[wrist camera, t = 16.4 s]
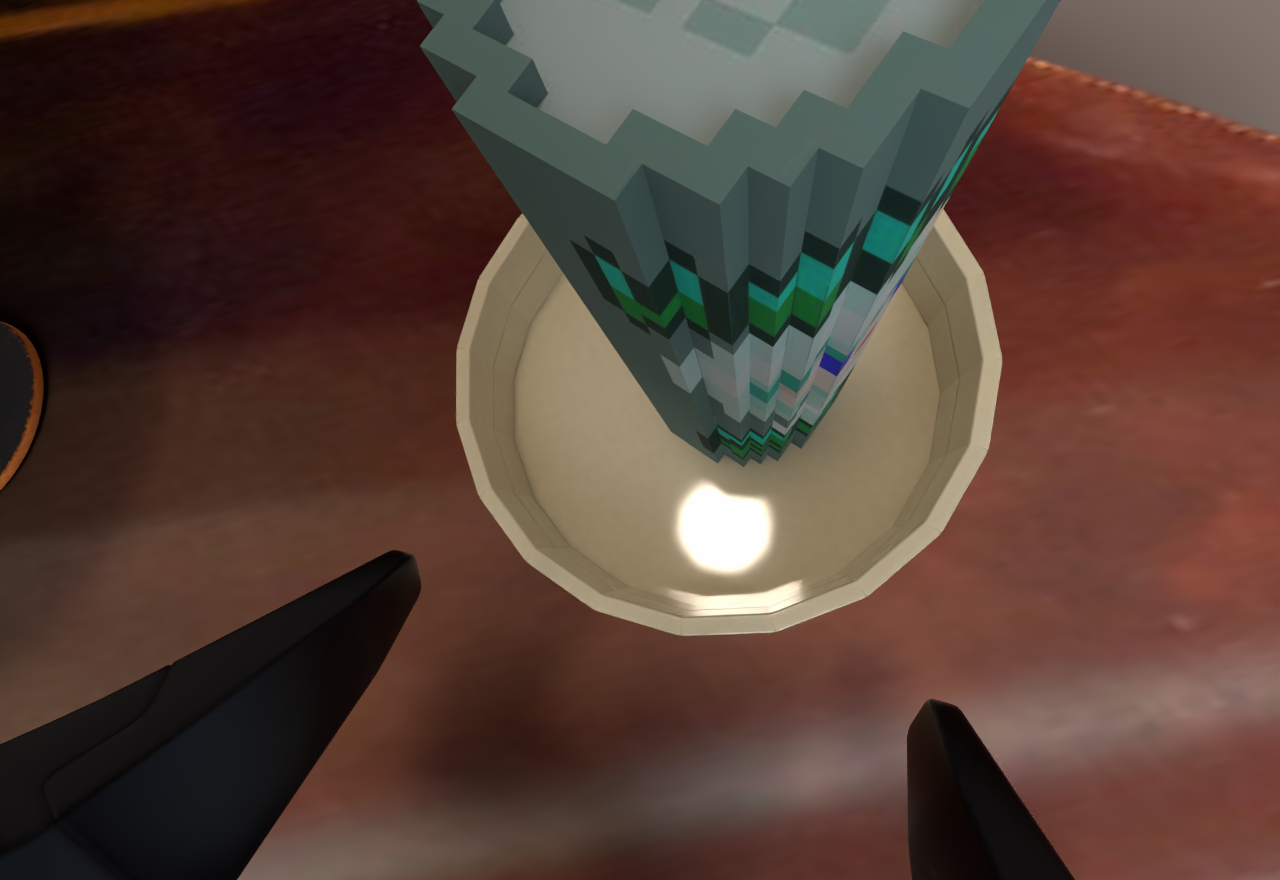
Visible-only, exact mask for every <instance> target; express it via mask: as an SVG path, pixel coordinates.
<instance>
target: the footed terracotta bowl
mask: <svg viewBox="0 0 1280 880" xmlns="http://www.w3.org/2000/svg"><path fill="white" fill-rule="evenodd" d="M43 392H44V382H43V371H42V367H41V363H40V359H39V357H38V354H37V351H36V349H35V348H34V346H33V344H32V343H31V341H30V340H29V339H28V338H27V337H26V335H25V334H23V333H22V332H21V331H20V330H18V329H17V328H15V327H13V326H11V325H9V324H7V323H4V322H1V321H0V490H1V489H2V488H3V487H4V486H5V485H6V484H7V482H8V481H9V480H10V479H11V478H12V476H13V475H14V473H15V472H16V470H17V469H18V467H19V466H20V464H21V462H22V461H23V459H24V457H25V455H26V453H27V452H28V449H29V447H30V445H31V443H32V440H33V438H34V435H35V432H36V430H37V427H38V423H39V419H40V415H41V411H42V403H43Z"/></svg>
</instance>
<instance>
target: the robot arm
mask: <svg viewBox="0 0 1280 880" xmlns="http://www.w3.org/2000/svg"><path fill="white" fill-rule="evenodd" d="M420 590H421V581H420V576H419V571H418V566H417V561H416V558H415V557H414V556H413V555H412V554H409V553H405V552H402V551H398V550H392V551H389V552H387V553H385V554H383V555H381V556H379V557H377V558H375V559H373V560H371V561H369V562H367V563H366V564H364V565H362V566H360V567H358V568H356V569H354V570H352V571H350V572H348V573H346V574H344V575H342V576H340V577H338V578H336V579H334V580H333V581H331V582H329V583H327V584H325V585H323V586H321V587H319V588H317V589H315V590H313V591H311V592H309V593H307V594H305V595H303V596H301V597H300V598H298V599H296V600H294V601H292V602H290V603H288V604H286V605H284V606H282V607H280V608H278V609H276V610H274V611H272V612H270V613H268V614H266V615H265V616H263V617H261V618H259V619H257V620H255V621H253V622H251V623H249V624H247V625H245V626H243V627H241V628H239V629H237V630H235V631H233V632H232V633H230V634H228V635H226V636H224V637H222V638H220V639H218V640H216V641H214V642H212V643H210V644H208V645H206V646H204V647H202V648H200V649H199V650H197V651H195V652H193V653H191V654H189V655H187V656H185V657H183V658H181V659H179V660H177V661H175V662H174V663H173V664H172V666H171V665H167V666H165V667H163V668H161V669H159V670H157V671H155V672H154V673H152V674H150V675H148V676H146V677H144V678H142V679H140V680H138V681H136V682H134V683H132V684H130V685H128V686H126V687H124V688H122V689H120V690H118V691H116V692H114V693H112V694H110V695H108V696H106V697H104V698H102V699H100V700H97V701H95V702H93V703H91V704H89V705H87V706H84V707H82V708H80V709H78V710H76V711H74V712H71V713H69V714H67V715H65V716H63V717H61V718H58V719H56V720H54V721H52V722H50V723H47V724H45V725H43V726H41V727H38V728H36V729H34V730H32V731H30V732H27V733H25V734H23V735H21V736H18V737H16V738H14V739H12V740H9V741H7V742H5V743H3V744H0V880H237V879H238V877H239V876H240V875H241V873H242V872H243V870H244V869H245V867H246V866H247V864H248V863H249V861H250V860H251V858H252V857H253V855H254V854H255V852H256V851H257V849H258V848H259V847H260V845H261V844H262V842H263V841H264V839H265V838H266V836H267V835H268V833H269V832H270V830H271V829H272V827H273V826H274V824H275V823H276V821H277V820H278V818H279V817H280V816H281V814H282V813H283V811H284V810H285V808H286V807H287V805H288V804H289V802H290V801H291V799H292V798H293V796H294V795H295V793H296V792H297V790H298V789H299V787H300V786H301V785H302V783H303V782H304V780H305V779H306V777H307V776H308V774H309V773H310V771H311V770H312V768H313V767H314V765H315V764H316V762H317V761H318V759H319V758H320V757H321V755H322V754H323V752H324V751H325V749H326V748H327V746H328V745H329V743H330V742H331V740H332V739H333V737H334V736H335V734H336V733H337V731H338V730H339V728H340V727H341V726H342V724H343V723H344V721H345V720H346V718H347V717H348V715H349V714H350V712H351V711H352V709H353V708H354V706H355V705H356V703H357V702H358V700H359V699H360V697H361V696H362V695H363V693H364V692H365V690H366V689H367V687H368V686H369V684H370V683H371V681H372V680H373V678H374V676H375V675H376V673H377V672H378V670H379V668H380V667H381V665H382V663H383V661H384V660H385V658H386V656H387V654H388V652H389V650H390V649H391V647H392V645H393V643H394V641H395V639H396V638H397V636H398V634H399V632H400V630H401V628H402V626H403V625H404V623H405V621H406V619H407V617H408V615H409V614H410V612H411V610H412V608H413V606H414V604H415V602H416V601H417V599H418V597H419V594H420ZM907 786H908V844H909V855H910V865H911V874H912V880H1075V879H1074V878H1073V876H1072V875H1071V873H1070V872H1069V870H1068V869H1067V867H1066V866H1065V864H1064V863H1063V861H1062V860H1061V858H1060V857H1059V855H1058V854H1057V852H1056V851H1055V849H1054V848H1053V846H1052V845H1051V843H1050V842H1049V840H1048V839H1047V837H1046V836H1045V834H1044V833H1043V832H1042V830H1041V829H1040V827H1039V826H1038V824H1037V823H1036V821H1035V820H1034V818H1033V817H1032V815H1031V814H1030V812H1029V811H1028V809H1027V808H1026V806H1025V805H1024V803H1023V802H1022V800H1021V799H1020V797H1019V796H1018V794H1017V793H1016V791H1015V790H1014V788H1013V787H1012V785H1011V784H1010V782H1009V781H1008V779H1007V778H1006V777H1005V775H1004V774H1003V772H1002V771H1001V769H1000V768H999V766H998V765H997V763H996V762H995V760H994V759H993V757H992V756H991V754H990V753H989V751H988V750H987V748H986V747H985V745H984V744H983V742H982V741H981V739H980V738H979V736H978V735H977V733H976V732H975V730H974V729H973V727H972V726H971V724H970V723H969V722H968V720H967V719H966V717H965V716H964V714H963V713H962V711H961V710H960V709H959V708H958V707H956V706H954V705H952V704H949V703H945V702H942V701H938V700H934V699H930V700H928V701H926V702H925V704H924V705H923V707H922V708H921V710H920V711H919V713H918V714H917V716H916V717H915V719H914V720H913V722H912V724H911V725H910V727H909V730H908V736H907Z"/></svg>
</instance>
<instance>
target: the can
mask: <svg viewBox="0 0 1280 880" xmlns="http://www.w3.org/2000/svg"><path fill="white" fill-rule="evenodd" d="M1059 1H1060V0H417V2H418V4H419V6H420V7H421V9H422V10H423V12H424V14H425V15H426V17H427V19H428V20H429V22H430V24H431V25H432V27H433V30H432V31H431V32H430V34H429V35H428V36H427V37H426V39H425V40H424V41H423V43H422V44H421V45H420V47H421V49H422V50H423V52H424V53H425V55H426V56H427V58H428V59H429V61H430V62H431V64H432V65H433V67H434V68H435V70H436V71H437V73H438V74H439V76H440V77H441V79H442V80H443V82H444V83H445V85H446V87H447V88H448V90H449V91H450V93H451V94H452V96H453V97H454V99H455V100H456V102H457V103H456V104H455V105H454V107H453V108H452V110H453V112H454V113H455V115H456V116H457V118H458V119H459V121H460V122H461V124H462V125H463V127H464V128H465V129H466V131H467V132H468V134H469V135H470V137H471V138H472V140H473V141H474V143H475V144H476V146H477V147H478V149H479V150H480V152H481V153H482V154H483V156H484V157H485V159H486V160H487V162H488V163H489V165H490V166H491V168H492V169H493V171H494V172H495V174H496V175H497V177H498V178H499V179H500V181H501V182H502V184H503V185H504V187H505V188H506V190H507V191H508V193H509V194H510V196H511V197H512V199H513V200H514V202H515V203H516V204H517V206H518V207H519V209H520V210H521V212H522V213H523V215H524V216H525V218H526V219H527V221H528V222H529V224H530V225H531V227H532V228H533V229H534V231H535V232H536V234H537V235H538V237H539V238H540V240H541V241H542V243H543V244H544V246H545V247H546V249H547V250H548V251H549V253H550V254H551V256H552V257H553V259H554V260H555V262H556V263H557V265H558V266H559V268H560V269H561V271H562V272H563V274H564V275H565V276H566V278H567V279H568V281H569V282H570V284H571V285H572V287H573V288H574V290H575V291H576V293H577V294H578V296H579V297H580V299H581V300H582V301H583V303H584V304H585V306H586V307H587V309H588V310H589V312H590V313H591V315H592V316H593V318H594V319H595V321H596V322H597V324H598V325H599V326H600V328H601V329H602V331H603V332H604V334H605V335H606V337H607V338H608V340H609V341H610V343H611V344H612V346H613V347H614V349H615V350H616V351H617V353H618V354H619V356H620V357H621V359H622V360H623V362H624V363H625V365H626V366H627V368H628V369H629V371H630V372H631V374H632V375H633V376H634V378H635V379H636V381H637V382H638V384H639V385H640V387H641V388H642V390H643V391H644V393H645V394H646V396H647V397H648V398H649V400H650V401H651V403H652V404H653V406H654V407H655V409H656V410H657V412H658V413H659V415H660V416H661V418H662V419H663V421H664V422H665V423H666V425H667V426H668V428H669V429H670V431H671V432H672V433H674V434H675V435H677V436H678V437H680V438H681V439H683V440H684V441H685V442H687V443H688V444H690V445H691V446H693V447H694V448H696V449H697V450H699V451H700V452H701V453H703V454H704V455H706V456H707V457H709V458H710V459H712V460H713V461H715V462H716V463H718V462H719V461H720V460H721V458H722V457H723V455H724V454H725V455H726V456H728V457H729V458H731V459H732V460H734V461H735V462H737V463H738V464H740V465H741V466H743V467H744V466H745V465H746V464H747V462H748V461H749V459H750V458H752V459H753V460H755V461H756V462H758V463H759V464H761V463H762V462H763V460H764V459H765V457H766V456H767V455H768V456H770V457H771V458H773V459H774V460H776V461H778V460H779V458H780V457H781V456H782V454H783V453H784V451H785V450H786V449H787V447H788V446H789V444H790V443H793V444H794V445H796V446H797V447H799V448H802V447H803V446H804V444H805V443H806V441H807V440H808V439H809V437H810V436H811V434H812V433H813V431H814V430H815V429H816V427H817V426H818V424H819V423H820V422H821V420H822V419H823V417H824V416H825V414H826V413H827V412H828V410H829V409H830V407H831V406H832V405H833V403H834V402H835V400H836V398H837V397H838V395H839V393H840V391H841V389H842V388H843V386H844V384H845V382H846V381H847V379H848V377H849V375H850V373H851V372H852V370H853V368H854V366H855V365H856V363H857V361H858V359H859V357H860V356H861V354H862V352H863V350H864V349H865V347H866V345H867V343H868V341H869V340H870V338H871V336H872V334H873V333H874V331H875V329H876V327H877V325H878V324H879V322H880V320H881V318H882V317H883V315H884V313H885V311H886V309H887V308H888V306H889V304H890V302H891V300H892V299H893V297H894V295H895V293H896V292H897V290H898V288H899V286H900V284H901V283H902V281H903V279H904V277H905V276H906V274H907V272H908V270H909V268H910V267H911V265H912V263H913V261H914V260H915V258H916V256H917V254H918V252H919V251H920V249H921V247H922V245H923V244H924V242H925V240H926V238H927V236H928V235H929V233H930V231H931V229H932V228H933V226H934V224H935V222H936V220H937V219H938V217H939V215H940V213H941V212H942V210H943V208H944V206H945V204H946V203H947V201H948V199H949V197H950V196H951V194H952V192H953V190H954V188H955V187H956V185H957V183H958V181H959V179H960V178H961V176H962V174H963V172H964V171H965V169H966V167H967V165H968V163H969V162H970V160H971V158H972V156H973V155H974V153H975V151H976V149H977V147H978V146H979V144H980V142H981V140H982V139H983V137H984V135H985V133H986V131H987V130H988V128H989V126H990V124H991V123H992V121H993V119H994V117H995V115H996V114H997V112H998V110H999V108H1000V107H1001V105H1002V103H1003V101H1004V99H1005V98H1006V96H1007V94H1008V92H1009V91H1010V89H1011V87H1012V85H1013V83H1014V82H1015V80H1016V78H1017V76H1018V74H1019V73H1020V71H1021V69H1022V67H1023V66H1024V64H1025V62H1026V60H1027V58H1028V57H1029V55H1030V53H1031V51H1032V50H1033V48H1034V46H1035V44H1036V42H1037V41H1038V39H1039V37H1040V35H1041V33H1042V32H1043V30H1044V28H1045V26H1046V25H1047V23H1048V21H1049V19H1050V17H1051V16H1052V14H1053V12H1054V10H1055V9H1056V7H1057V5H1058V3H1059Z"/></svg>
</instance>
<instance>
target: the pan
mask: <svg viewBox="0 0 1280 880" xmlns="http://www.w3.org/2000/svg"><path fill="white" fill-rule="evenodd" d="M519 217H520V218H518V219H517V220H516V222H515V223H514V225H513V226H512V228H511V229H510V231H509V232H508V234H507V235H506V237H505V238H504V240H503V242H502V243H501V245H500V246H499V248H498V249H497V251H496V252H495V254H494V255H493V257H492V258H491V260H490V261H489V263H488V265H487V266H486V268H485V269H484V271H483V272H482V274H481V275H480V277H479V279H478V281H477V284H476V287H475V291H474V294H473V297H472V300H471V304H470V307H469V310H468V313H467V317H466V320H465V323H464V326H463V329H462V333H461V336H460V339H459V342H458V346H457V351H456V423H457V424H456V425H457V428H458V432H459V435H460V438H461V441H462V444H463V448H464V451H465V454H466V457H467V460H468V464H469V467H470V470H471V473H472V476H473V480H474V483H475V486H476V489H477V492H478V495H479V496H480V499H481V500H482V502H483V503H484V504H485V506H486V507H487V509H488V510H489V511H490V513H491V514H492V516H493V517H494V518H495V520H496V521H497V522H498V524H499V525H500V527H501V528H502V529H503V531H504V532H505V534H506V535H507V536H508V538H509V539H510V541H511V542H512V543H513V545H514V546H515V547H516V549H517V550H518V552H519V553H520V554H521V556H522V557H523V559H524V560H526V562H527V563H528V564H530V565H531V566H533V567H534V568H535V569H537V570H538V571H540V572H541V573H542V574H544V575H545V576H547V577H548V578H549V579H551V580H552V581H554V582H555V583H556V584H558V585H559V586H561V587H562V588H563V589H565V590H566V591H568V592H569V593H570V594H572V595H573V596H575V597H576V598H577V599H579V600H580V601H582V602H583V603H584V604H586V605H587V606H589V607H590V608H592V609H593V610H596V611H598V612H601V613H604V614H608V615H611V616H615V617H618V618H621V619H625V620H628V621H631V622H635V623H638V624H641V625H645V626H648V627H651V628H655V629H658V630H661V631H665V632H668V633H672V634H675V635H678V636H679V635H681V636H700V635H726V634H752V633H773V632H775V631H776V632H778V631H781V630H784V629H786V628H789V627H791V626H794V625H797V624H799V623H802V622H804V621H807V620H810V619H812V618H815V617H817V616H820V615H822V614H825V613H828V612H830V611H833V610H835V609H838V608H841V607H843V606H846V605H848V604H851V603H854V602H856V601H859V600H861V599H864V598H865V597H866V596H869V595H870V594H871V593H872V592H874V591H875V590H876V589H877V588H878V587H880V586H881V585H882V584H883V583H884V582H885V581H887V580H888V579H889V578H890V577H891V576H892V575H894V574H895V573H896V572H897V571H898V570H899V569H901V568H902V567H903V566H904V565H905V564H907V563H908V562H909V561H910V560H911V559H912V558H914V557H915V556H916V555H917V554H918V553H919V552H921V551H922V550H923V549H924V548H925V547H927V546H928V545H929V544H930V543H931V542H932V541H934V540H935V539H936V538H937V537H938V536H939V535H940V533H942V532H943V530H944V528H945V526H946V525H947V523H948V521H949V519H950V518H951V516H952V514H953V512H954V511H955V509H956V507H957V505H958V504H959V502H960V500H961V498H962V497H963V495H964V493H965V491H966V490H967V488H968V486H969V484H970V482H971V481H972V479H973V477H974V475H975V474H976V472H977V470H978V468H979V467H980V465H981V463H982V461H983V460H984V458H985V456H986V454H987V450H988V449H989V445H990V438H991V432H992V426H993V419H994V413H995V407H996V400H997V394H998V387H999V381H1000V375H1001V368H1002V354H1001V350H1000V345H999V340H998V335H997V331H996V326H995V321H994V317H993V312H992V307H991V303H990V298H989V293H988V288H987V284H986V279H985V275H983V274H984V272H983V271H982V269H981V267H980V266H979V264H978V263H977V261H976V260H975V258H974V256H973V255H972V253H971V252H970V250H969V249H968V247H967V245H966V244H965V242H964V241H963V239H962V238H961V236H960V234H959V233H958V231H957V230H956V228H955V227H954V225H953V223H952V222H951V220H950V219H949V217H948V216H947V214H946V212H945V211H944V209H943V210H942V212H941V213H940V215H939V217H938V219H937V220H936V222H935V224H934V226H933V228H932V229H931V231H930V233H929V235H928V236H927V238H926V240H925V242H924V244H923V245H922V247H921V249H920V251H919V252H918V254H917V256H916V258H915V260H914V261H913V263H912V265H911V267H910V268H909V270H908V272H907V274H906V276H905V277H904V279H903V281H902V283H901V284H900V286H899V288H898V290H897V292H896V293H895V295H894V297H893V299H892V300H891V302H890V304H889V306H888V308H887V309H886V311H885V313H884V315H883V317H882V318H881V320H880V322H879V324H878V325H877V327H876V329H875V331H874V333H873V334H872V336H871V338H870V340H869V341H868V343H867V345H866V347H865V349H864V350H863V352H862V354H861V356H860V357H859V359H858V361H857V363H856V365H855V366H854V368H853V370H852V372H851V373H850V375H849V377H848V379H847V381H846V382H845V384H844V386H843V388H842V389H841V391H840V393H839V395H838V397H837V398H836V400H835V402H834V403H833V405H832V406H831V407H830V409H829V410H828V412H827V413H826V414H825V416H824V417H823V419H822V420H821V422H820V423H819V424H818V426H817V427H816V429H815V430H814V431H813V433H812V434H811V436H810V437H809V439H808V440H807V441H806V443H805V444H804V446H803V447H802V448H799V447H797V446H796V445H794V444H793V443H790V444H789V446H788V447H787V449H786V450H785V451H784V453H783V454H782V456H781V457H780V458H779V460H778V461H776V460H774V459H773V458H771V457H770V456H768V455H767V456H766V457H765V459H764V460H763V462H762V463H761V464H759V463H758V462H756V461H755V460H753V459H752V458H750V459H749V461H748V462H747V464H746V465H745V466H744V467H743V466H741V465H740V464H738V463H737V462H735V461H734V460H732V459H731V458H729V457H728V456H726V455H725V454H724V455H723V457H722V458H721V460H720V461H719V462H718V463H716V462H715V461H713V460H712V459H710V458H709V457H707V456H706V455H704V454H703V453H701V452H700V451H699V450H697V449H696V448H694V447H693V446H691V445H690V444H688V443H687V442H685V441H684V440H683V439H681V438H680V437H678V436H677V435H675V434H674V433H672V432H671V431H670V429H669V428H668V426H667V425H666V423H665V422H664V421H663V419H662V418H661V416H660V415H659V413H658V412H657V410H656V409H655V407H654V406H653V404H652V403H651V401H650V400H649V398H648V397H647V396H646V394H645V393H644V391H643V390H642V388H641V387H640V385H639V384H638V382H637V381H636V379H635V378H634V376H633V375H632V374H631V372H630V371H629V369H628V368H627V366H626V365H625V363H624V362H623V360H622V359H621V357H620V356H619V354H618V353H617V351H616V350H615V349H614V347H613V346H612V344H611V343H610V341H609V340H608V338H607V337H606V335H605V334H604V332H603V331H602V329H601V328H600V326H599V325H598V324H597V322H596V321H595V319H594V318H593V316H592V315H591V313H590V312H589V310H588V309H587V307H586V306H585V304H584V303H583V301H582V300H581V299H580V297H579V296H578V294H577V293H576V291H575V290H574V288H573V287H572V285H571V284H570V282H569V281H568V279H567V278H566V276H565V275H564V274H563V272H562V271H561V269H560V268H559V266H558V265H557V263H556V262H555V260H554V259H553V257H552V256H551V254H550V253H549V251H548V250H547V249H546V247H545V246H544V244H543V243H542V241H541V240H540V238H539V237H538V235H537V234H536V232H535V231H534V229H533V228H532V227H531V225H530V224H529V222H528V221H527V219H526V218H525V216H524V215H523V213H522V214H521V215H520V216H519Z"/></svg>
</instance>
